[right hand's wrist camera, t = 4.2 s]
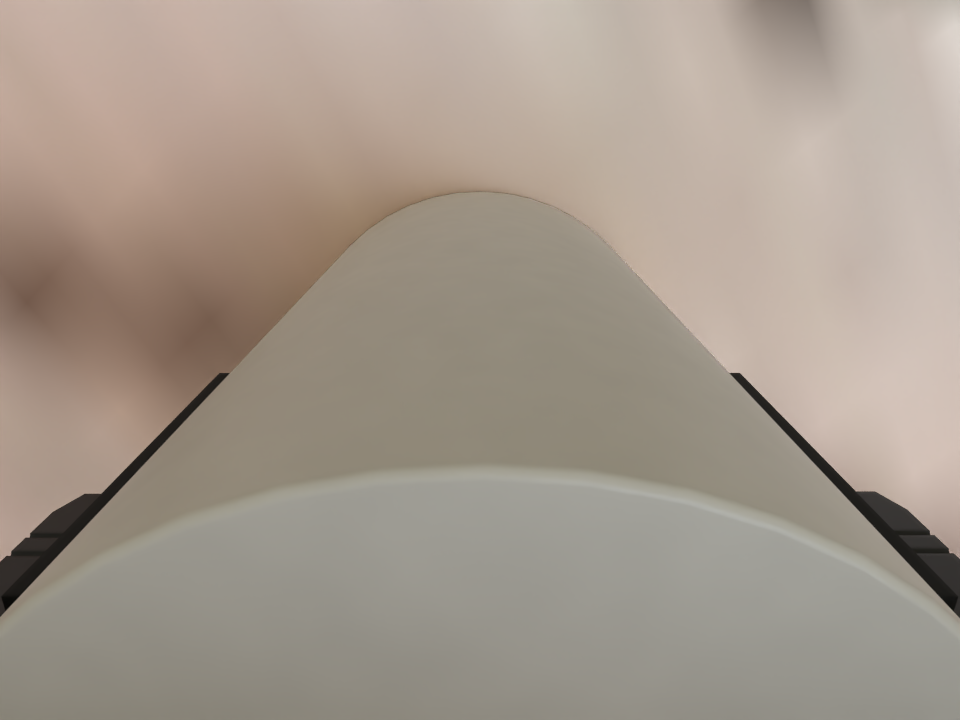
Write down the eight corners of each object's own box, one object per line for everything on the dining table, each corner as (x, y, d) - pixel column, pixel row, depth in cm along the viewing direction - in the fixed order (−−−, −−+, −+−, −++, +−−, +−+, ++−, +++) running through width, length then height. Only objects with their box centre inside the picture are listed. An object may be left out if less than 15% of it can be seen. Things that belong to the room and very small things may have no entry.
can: (235, 366, 17) (-334, 968, 5) (481, 107, 15) (488, 104, 3) (478, 569, 20) (475, 1319, 7) (723, 369, 17) (1288, 974, 5)
